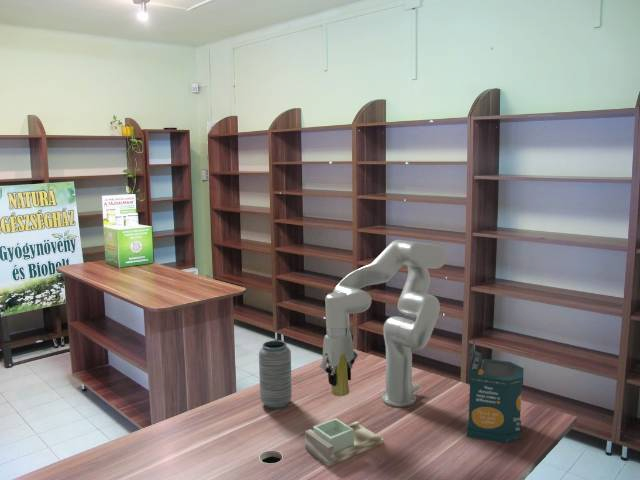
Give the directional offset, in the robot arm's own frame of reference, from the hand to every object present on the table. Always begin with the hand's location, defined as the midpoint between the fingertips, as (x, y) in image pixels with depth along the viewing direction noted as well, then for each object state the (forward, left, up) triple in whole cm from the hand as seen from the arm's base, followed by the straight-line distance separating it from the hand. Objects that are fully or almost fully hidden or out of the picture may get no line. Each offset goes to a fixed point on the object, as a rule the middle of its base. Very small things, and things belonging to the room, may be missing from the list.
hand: (340, 381), depth 180 cm
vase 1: (+9, -27, -16) cm, 33 cm away
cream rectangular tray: (+7, +11, -16) cm, 20 cm away
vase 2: (0, 0, -4) cm, 4 cm away
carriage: (+11, +11, -14) cm, 21 cm away
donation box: (-39, +33, -16) cm, 54 cm away
